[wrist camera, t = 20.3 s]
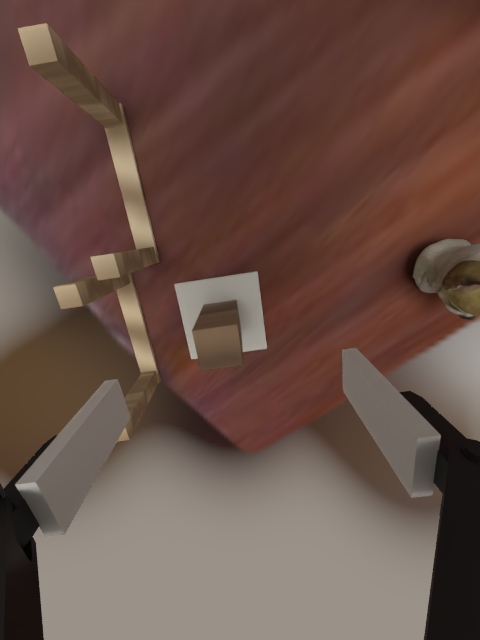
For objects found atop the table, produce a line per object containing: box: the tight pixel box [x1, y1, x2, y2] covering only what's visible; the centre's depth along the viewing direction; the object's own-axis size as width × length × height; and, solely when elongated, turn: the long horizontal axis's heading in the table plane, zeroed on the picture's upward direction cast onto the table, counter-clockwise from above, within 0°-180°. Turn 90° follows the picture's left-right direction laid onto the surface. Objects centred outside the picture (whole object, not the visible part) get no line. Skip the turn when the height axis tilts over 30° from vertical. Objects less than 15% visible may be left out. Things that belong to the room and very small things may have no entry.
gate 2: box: [54, 273, 161, 441], centre depth 31 cm, size 17×2×12 cm, turn 8°
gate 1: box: [18, 23, 160, 280], centre depth 26 cm, size 17×2×12 cm, turn 8°
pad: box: [174, 271, 267, 359], centre depth 36 cm, size 11×11×1 cm
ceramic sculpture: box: [413, 239, 480, 319], centre depth 28 cm, size 11×9×15 cm
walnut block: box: [192, 300, 244, 371], centre depth 31 cm, size 4×4×10 cm
